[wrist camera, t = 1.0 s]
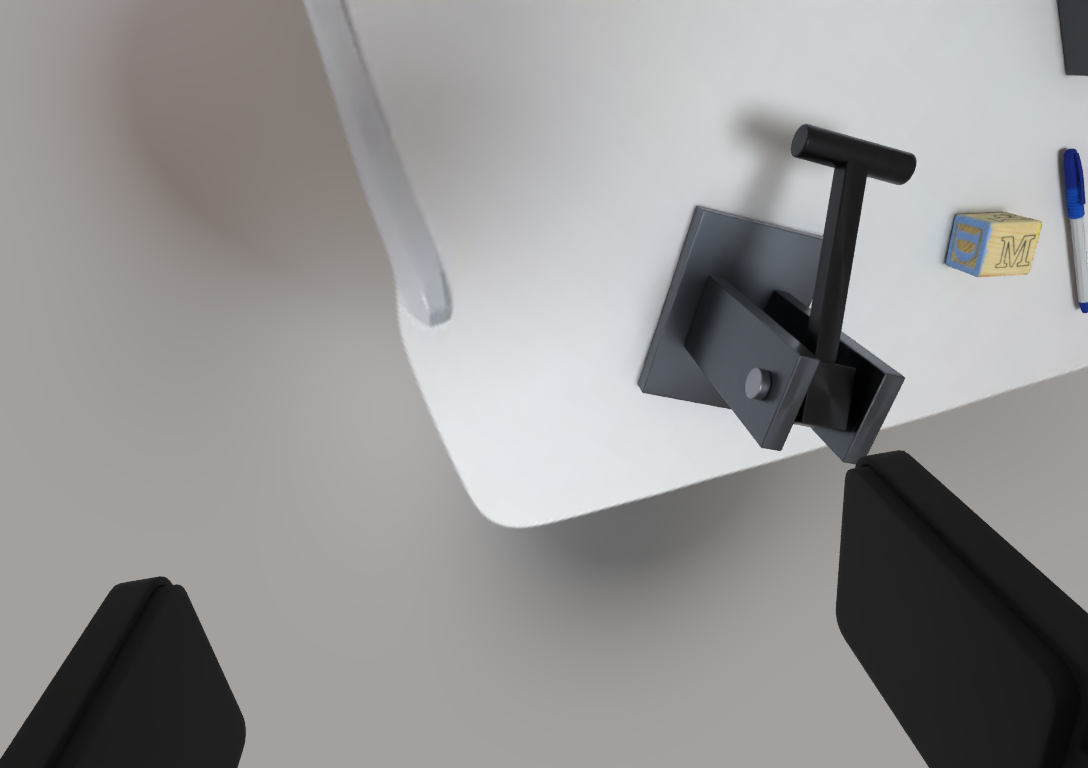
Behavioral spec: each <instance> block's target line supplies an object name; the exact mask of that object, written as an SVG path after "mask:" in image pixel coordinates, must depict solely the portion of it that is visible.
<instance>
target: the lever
mask: <svg viewBox="0 0 1088 768" xmlns="http://www.w3.org/2000/svg"><path fill="white" fill-rule="evenodd" d="M791 154H792V156H794V157H796V158H799V159H803V160H807V161H811V162H814V163H818V164H822V165H825V166H829V167H833V168H835V169H834V175H833V181H832V187H831V193H830V199H829V205H828V211H827V217H826V223H825V229H824V235H823V241H822V247H821V253H820V259H819V265H818V271H817V277H816V283H815V289H814V295H813V301H812V307H811V313H810V319H809V325H808V331H807V337H806V343H805V347H806V348H807V349H808V350H809V351H811V352H812V353H813V354H814V355H815V356H816V357H818V358H819V359H820V360H821V361H820V364H819V366H818V368H817V371H816V373H815V375H814V377H813V380H812V382H811V384H810V386H809V389H808V391H807V393H806V396H805V398H804V400H803V402H802V405H801V407H800V409H799V412H798V414H797V416H796V418H795V421H794V423H793V424H796V425H802V426H807V427H813V428H820V429H829V430H837V431H846V428H847V422H848V416H849V410H850V404H851V398H852V392H853V386H854V380H855V374H856V368H853V367H848V366H843V365H838V364H836V360H837V354H838V347H839V341H840V335H841V329H842V323H843V317H844V311H845V305H846V299H847V293H848V287H849V281H850V275H851V269H852V263H853V257H854V251H855V245H856V239H857V233H858V227H859V221H860V215H861V209H862V203H863V196H864V190H865V184H866V178H867V177H870V178H874V179H877V180H881V181H885V182H889V183H892V184H896V185H902V184H904V183H906V182H907V181H908V180H909V179H910V178H911V176H912V175H913V173H914V171H915V168H916V157H915V156H914V155H913V154H912V153H908V152H905V151H901V150H898V149H894V148H891V147H887V146H883V145H880V144H876V143H873V142H869V141H866V140H862V139H859V138H855V137H851V136H848V135H844V134H841V133H837V132H834V131H830V130H827V129H823V128H819V127H816V126H812V125H809V124H804V125H802V126H801V127H800V128H799V129H798V130H797V132H796V133H795V135H794V137H793V140H792V144H791Z"/></svg>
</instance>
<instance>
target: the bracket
mask: <svg viewBox="0 0 1088 768" xmlns="http://www.w3.org/2000/svg"><path fill="white" fill-rule="evenodd" d="M822 241H823V237H822V236H818V235H814V234H809V233H805V232H801V231H797V230H793V229H789V228H785V227H781V226H777V225H773V224H769V223H765V222H761V221H757V220H753V219H749V218H745V217H740V216H736V215H732V214H728V213H724V212H720V211H716V210H712V209H708V208H704V207H700V206H697V208H696V211H695V214H694V217H693V220H692V223H691V226H690V229H689V232H688V235H687V238H686V241H685V244H684V247H683V250H682V253H681V256H680V259H679V262H678V265H677V268H676V271H675V274H674V277H673V280H672V283H671V286H670V289H669V292H668V295H667V298H666V301H665V304H664V308H663V311H662V314H661V317H660V320H659V323H658V326H657V329H656V332H655V335H654V338H653V341H652V344H651V347H650V350H649V353H648V356H647V359H646V362H645V365H644V368H643V371H642V374H641V377H640V380H639V383H638V385H639V387H640V389H641V391H642V392H643V393H647V394H652V395H658V396H663V397H669V398H674V399H679V400H685V401H690V402H695V403H701V404H706V405H711V406H717V407H722V408H728V409H732V410H733V412H734V413H735V414H736V415H737V417H738V418H739V419H740V421H741V422H742V423H743V425H744V426H745V427H746V429H747V430H748V431H749V432H750V434H751V435H752V436H753V438H754V439H755V440H756V442H757V443H758V444H759V446H760V447H761V448H766V449H772V450H777V451H781V450H782V448H783V446H784V443H785V441H786V439H787V437H788V434H789V432H790V430H791V428H792V425H793V423H794V421H795V418H796V416H797V414H798V412H799V409H800V407H801V405H802V402H803V400H804V398H805V396H806V393H807V391H808V389H809V386H810V384H811V382H812V380H813V377H814V375H815V373H816V371H817V368H818V366H819V364H820V361H821V360H820V359H819V358H818V357H816V356H815V355H814V354H813V353H812V352H811V351H809V350H808V349H807V348H806V347H805V343H806V337H807V331H808V325H809V319H810V313H811V309H810V308H809V306H810V304H811V301H812V299H813V295H814V289H815V283H816V277H817V271H818V265H819V259H820V253H821V247H822ZM836 364H838V365H843V366H848V367H853V368H856V374H855V380H854V386H853V392H852V398H851V404H850V410H849V416H848V422H847V428H846V431H837V430H829V429H820V428H813V427H811V428H812V430H813V431H814V432H815V433H816V434H817V435H818V436H819V437H820V438H821V439H822V440H823V441H824V442H825V443H826V444H827V445H828V447H829V448H830V449H831V450H832V451H833V452H834V453H835V454H836V455H837V456H838V457H839V458H840V459H841V460H842V461H843V462H845V463H851V464H856V463H857V461H858V459H859V458H861V457H863V456H867V454H868V452H869V450H870V448H871V446H872V444H873V442H874V440H875V438H876V436H877V434H878V432H879V430H880V428H881V426H882V424H883V422H884V420H885V418H886V416H887V414H888V412H889V410H890V408H891V406H892V404H893V402H894V400H895V398H896V396H897V394H898V392H899V390H900V388H901V386H902V384H903V382H904V380H905V377H904V376H902V375H901V374H900V373H898V372H897V371H895V370H894V369H893V368H891V367H890V366H889V365H887V364H886V363H884V362H883V361H882V360H880V359H879V358H878V357H876V356H875V355H873V354H872V353H871V352H869V351H868V350H867V349H865V348H864V347H862V346H861V345H860V344H858V343H857V342H856V341H854V340H853V339H851V338H850V337H849V336H847V335H846V334H845V333H843V332H842V331H841V335H840V341H839V347H838V354H837V360H836Z"/></svg>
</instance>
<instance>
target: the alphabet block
mask: <svg viewBox="0 0 1088 768" xmlns="http://www.w3.org/2000/svg"><path fill="white" fill-rule="evenodd" d="M1041 227H1042V222H1041V221H1039V220H1035V219H1031V218H1026V217H1022V216H1018V215H1014V214H1010V213H1007V212H1001V213H980V214H958V215H957V216H956V217H955V220H954V225H953V230H952V236H951V240H950V245H949V250H948V255H947V259H946V264H947V265H948V266H950V267H952V268H955V269H958V270H960V271H963V272H966V273H968V274H971V275H973V276H976V277H989V276H1008V275H1026V274H1028V273H1029V272H1030V270H1031V265H1032V261H1033V258H1034V254H1035V249H1036V245H1037V242H1038V238H1039V235H1040V230H1041Z"/></svg>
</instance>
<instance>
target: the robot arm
mask: <svg viewBox="0 0 1088 768" xmlns="http://www.w3.org/2000/svg"><path fill="white" fill-rule="evenodd" d="M837 587H838V588H837V601H836V617H837V622H838V625H839V628H840V631H841V633H842V635H843V637H844V639H845V640H846V642H847V643H848V645H849V646H850V648H851V649H852V651H853V652H854V654H855V655H856V657H857V659H858V660H859V662H860V663H861V665H862V666H863V668H864V669H865V671H866V672H867V674H868V675H869V677H870V678H871V680H872V681H873V683H874V684H875V686H876V687H877V689H878V691H879V692H880V694H881V695H882V697H883V698H884V699H885V701H886V703H887V704H888V706H889V707H890V709H891V710H892V712H893V713H894V715H895V716H896V718H897V719H898V721H899V722H900V724H901V726H902V727H903V729H904V730H905V732H906V733H907V735H908V736H909V737H910V739H911V740H912V742H913V744H914V745H915V747H916V748H917V750H918V751H919V753H920V754H921V756H922V757H923V759H924V761H925V762H926V763H927V765H928V767H929V768H1088V613H1087V612H1086V611H1084V610H1083V609H1082V608H1081V607H1080V606H1079V605H1078V604H1077V603H1075V602H1074V601H1073V600H1072V599H1071V598H1070V597H1069V596H1067V594H1065V593H1064V592H1063V591H1062V590H1061V589H1060V588H1059V587H1058V586H1056V585H1055V584H1054V583H1053V582H1052V581H1051V580H1050V579H1049V578H1047V577H1046V576H1045V575H1044V574H1043V573H1042V572H1041V571H1040V570H1038V569H1037V568H1036V567H1035V566H1034V565H1033V564H1032V563H1031V562H1029V561H1028V560H1027V559H1026V558H1025V557H1024V556H1023V555H1022V554H1020V553H1019V552H1018V551H1017V550H1016V549H1015V548H1014V547H1013V546H1011V545H1010V544H1009V543H1008V542H1007V541H1006V540H1005V539H1004V538H1003V537H1001V536H1000V535H999V534H998V533H997V532H996V531H995V530H993V529H992V528H991V527H990V526H989V525H988V524H987V523H986V522H984V521H983V520H982V519H981V518H980V517H979V516H978V515H977V514H975V513H974V512H973V511H972V510H971V509H970V508H969V507H968V506H967V505H965V504H964V503H963V502H962V501H961V500H960V499H959V498H958V497H957V496H955V495H954V494H953V493H952V492H951V491H950V490H949V489H947V488H946V487H945V486H944V485H943V484H942V483H941V482H940V481H939V480H937V479H936V478H935V477H934V476H933V475H932V474H931V473H930V472H928V471H927V470H926V469H925V468H924V467H923V466H922V465H921V464H919V463H918V462H917V461H916V460H915V459H914V458H913V457H911V456H910V455H909V454H908V453H906V452H905V451H900V450H898V451H892V452H887V453H880V454H875V455H868V456H863V457H861V458H859V459H858V461H857V463H856V467H855V468H854V469H850V470H848V471H847V473H846V477H845V488H844V502H843V515H842V529H841V545H840V558H839V572H838V586H837ZM245 737H246V728H245V721H244V718H243V715H242V713H241V711H240V709H239V706H238V704H237V702H236V700H235V698H234V695H233V693H232V691H231V689H230V687H229V685H228V682H227V680H226V678H225V676H224V673H223V671H222V669H221V667H220V665H219V663H218V661H217V658H216V656H215V654H214V652H213V649H212V647H211V645H210V643H209V641H208V638H207V636H206V634H205V632H204V630H203V627H202V625H201V623H200V621H199V619H198V617H197V614H196V612H195V610H194V608H193V606H192V603H191V601H190V599H189V597H188V595H187V592H186V591H185V589H184V588H183V587H182V586H181V585H172V583H171V582H170V580H168V579H167V578H166V577H155V578H149V579H143V580H136V581H131V582H126V583H120V584H118V585H116V586H114V587H113V589H112V590H111V591H110V592H109V594H108V595H107V597H106V598H105V600H104V601H103V603H102V604H101V606H100V607H99V609H98V610H97V612H96V614H95V615H94V617H93V618H92V620H91V621H90V623H89V624H88V626H87V627H86V629H85V630H84V632H83V633H82V635H81V637H80V638H79V640H78V641H77V643H76V644H75V646H74V647H73V649H72V651H71V652H70V654H69V655H68V656H67V658H66V660H65V661H64V663H63V664H62V666H61V667H60V669H59V670H58V672H57V673H56V675H55V676H54V678H53V680H52V681H51V682H50V684H49V686H48V687H47V689H46V690H45V692H44V693H43V695H42V696H41V698H40V700H39V701H38V702H37V704H36V705H35V707H34V709H33V710H32V712H31V713H30V715H29V716H28V718H27V719H26V721H25V722H24V724H23V725H22V727H21V728H20V730H19V732H18V733H17V735H16V736H15V738H14V739H13V741H12V742H11V744H10V745H9V747H8V748H7V750H6V751H5V753H4V754H3V756H2V757H1V759H0V768H237V767H238V764H239V761H240V758H241V754H242V751H243V748H244V744H245Z"/></svg>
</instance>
